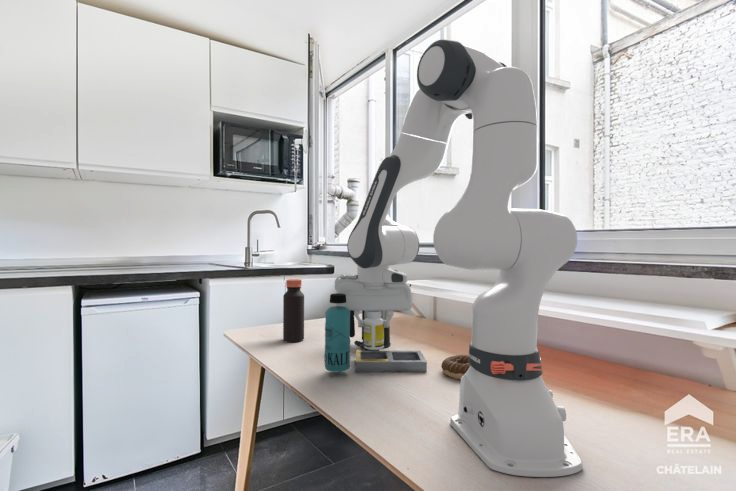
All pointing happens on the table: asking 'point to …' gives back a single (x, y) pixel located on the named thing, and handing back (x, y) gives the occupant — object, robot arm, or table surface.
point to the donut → (456, 366)
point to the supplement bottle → (373, 331)
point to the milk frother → (352, 329)
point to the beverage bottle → (337, 335)
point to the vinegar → (293, 312)
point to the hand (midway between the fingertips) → (373, 326)
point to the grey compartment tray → (390, 361)
